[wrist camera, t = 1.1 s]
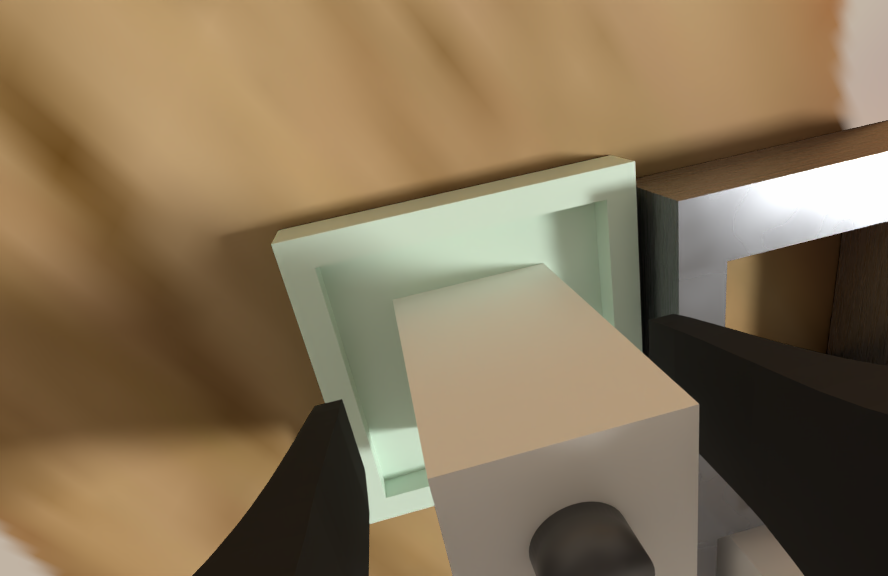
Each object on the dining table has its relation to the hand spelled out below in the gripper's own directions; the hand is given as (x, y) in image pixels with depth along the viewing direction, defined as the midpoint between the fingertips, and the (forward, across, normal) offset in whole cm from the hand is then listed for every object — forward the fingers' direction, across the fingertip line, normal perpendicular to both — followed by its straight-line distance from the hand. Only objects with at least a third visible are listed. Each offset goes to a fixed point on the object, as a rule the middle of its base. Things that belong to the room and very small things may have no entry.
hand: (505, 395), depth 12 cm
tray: (+3, 0, 0) cm, 3 cm away
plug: (+2, 0, 0) cm, 2 cm away
